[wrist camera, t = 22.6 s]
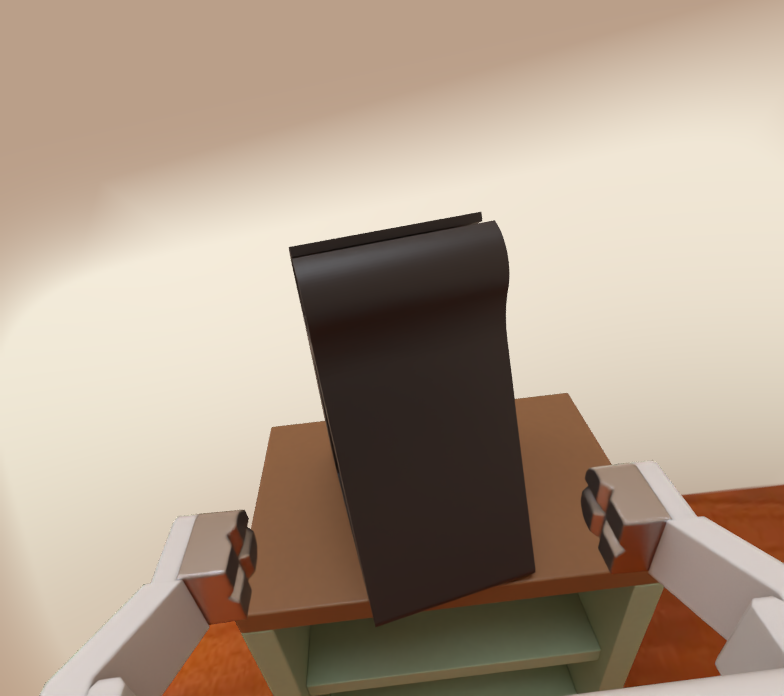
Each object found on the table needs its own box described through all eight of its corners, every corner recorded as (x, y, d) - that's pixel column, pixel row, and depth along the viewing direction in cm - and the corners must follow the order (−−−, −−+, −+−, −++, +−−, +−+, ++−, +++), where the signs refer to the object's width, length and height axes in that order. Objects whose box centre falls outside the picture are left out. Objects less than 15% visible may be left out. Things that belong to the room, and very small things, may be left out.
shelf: (308, 765, 25) (232, 618, 17) (319, 583, 34) (271, 426, 25) (606, 727, 25) (674, 564, 17) (543, 556, 34) (568, 392, 26)
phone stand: (535, 577, 17) (576, 273, 11) (374, 632, 16) (309, 331, 9) (445, 419, 24) (437, 182, 18) (331, 449, 23) (277, 208, 17)
